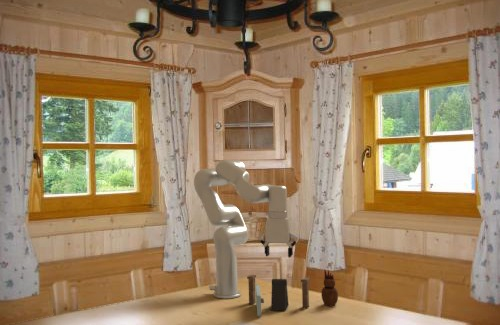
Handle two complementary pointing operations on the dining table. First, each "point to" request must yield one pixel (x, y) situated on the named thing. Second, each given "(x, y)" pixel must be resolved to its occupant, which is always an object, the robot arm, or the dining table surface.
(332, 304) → the wooden figurine
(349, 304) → the dining table surface
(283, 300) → the door stopper
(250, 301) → the brown gate posts
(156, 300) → the dining table surface
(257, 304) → the door
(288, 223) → the robot arm
